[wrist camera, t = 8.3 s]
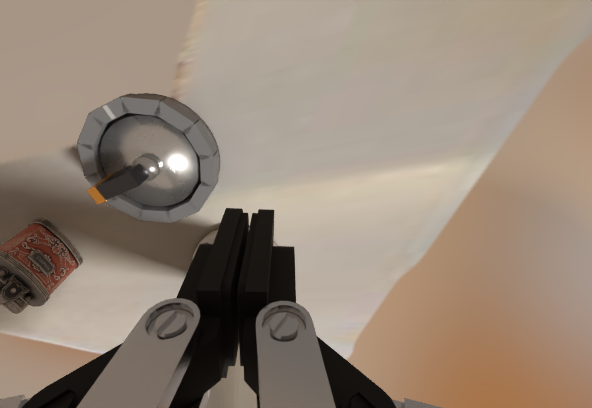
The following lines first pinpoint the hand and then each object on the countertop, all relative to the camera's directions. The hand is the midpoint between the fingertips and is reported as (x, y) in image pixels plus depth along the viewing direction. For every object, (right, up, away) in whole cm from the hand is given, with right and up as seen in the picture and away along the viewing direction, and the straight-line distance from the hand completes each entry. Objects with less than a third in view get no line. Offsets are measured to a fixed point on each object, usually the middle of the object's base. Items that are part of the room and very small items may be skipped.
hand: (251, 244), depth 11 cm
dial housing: (-14, +7, +25) cm, 29 cm away
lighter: (-30, -4, +30) cm, 43 cm away
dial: (-14, +6, +23) cm, 28 cm away
